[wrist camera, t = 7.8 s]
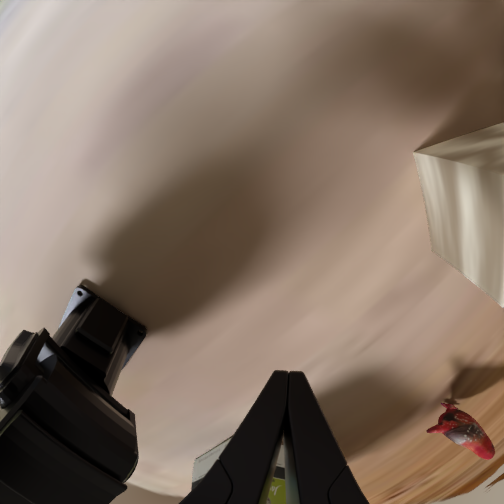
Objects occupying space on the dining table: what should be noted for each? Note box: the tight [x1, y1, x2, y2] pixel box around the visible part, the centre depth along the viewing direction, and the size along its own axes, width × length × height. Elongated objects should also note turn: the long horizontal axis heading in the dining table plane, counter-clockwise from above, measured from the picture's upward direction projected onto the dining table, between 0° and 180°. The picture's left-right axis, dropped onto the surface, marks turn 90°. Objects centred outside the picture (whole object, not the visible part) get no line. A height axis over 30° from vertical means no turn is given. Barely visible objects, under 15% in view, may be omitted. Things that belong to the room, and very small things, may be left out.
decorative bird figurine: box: [427, 403, 495, 460], centre depth 25 cm, size 3×18×10 cm, turn 58°
